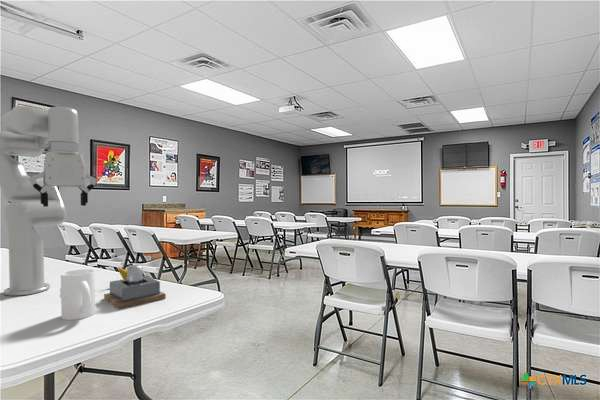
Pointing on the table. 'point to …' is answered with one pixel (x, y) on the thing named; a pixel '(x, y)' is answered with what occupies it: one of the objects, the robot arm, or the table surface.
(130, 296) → the socket block
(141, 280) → the steel peg
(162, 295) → the dock board
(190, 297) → the table surface
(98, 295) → the table surface
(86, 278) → the mug
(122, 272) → the drill bit
